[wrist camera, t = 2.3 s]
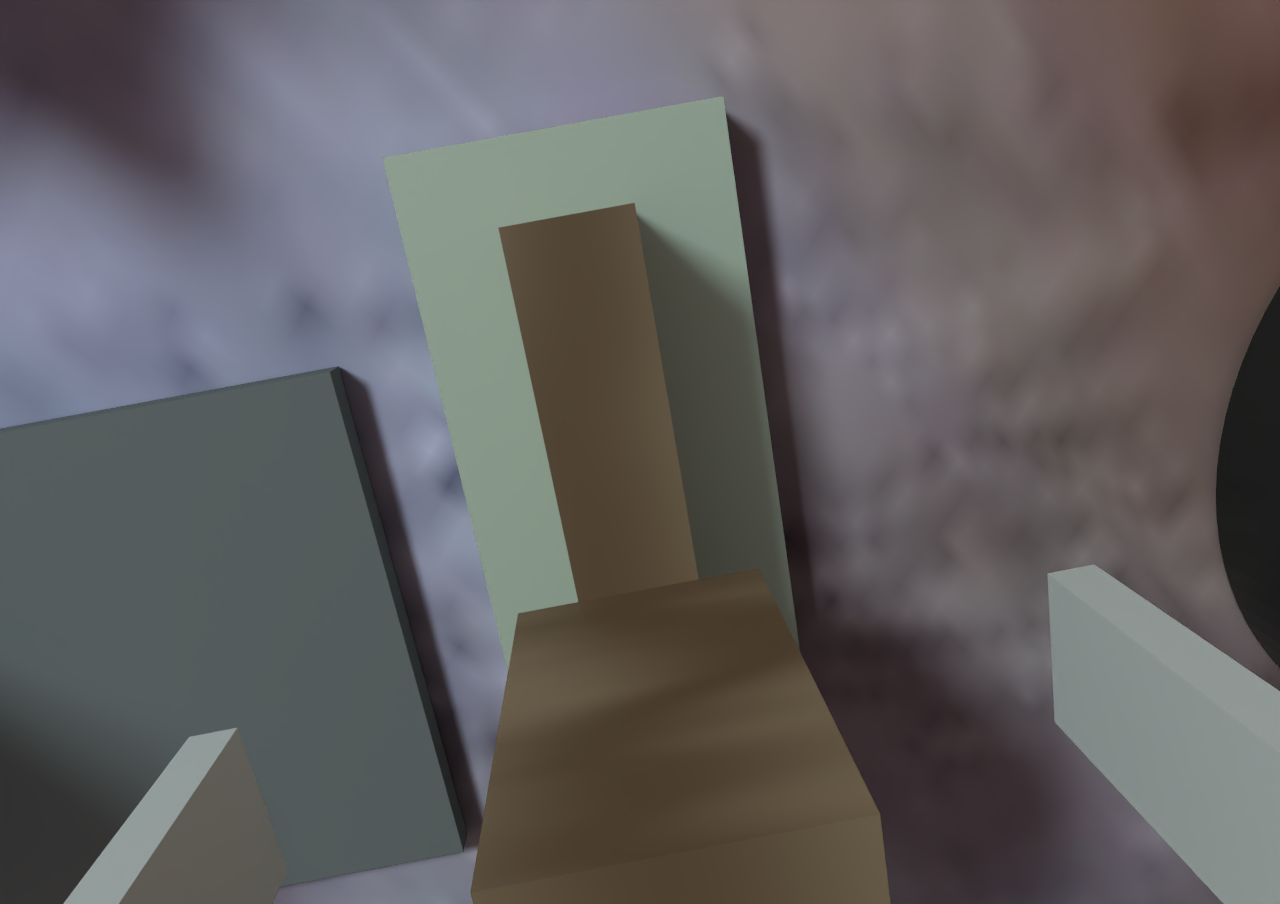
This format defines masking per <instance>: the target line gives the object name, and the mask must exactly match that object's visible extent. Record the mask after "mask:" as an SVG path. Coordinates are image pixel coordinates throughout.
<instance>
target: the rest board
mask: <svg viewBox="0 0 1280 904" xmlns="http://www.w3.org/2000/svg"><path fill="white" fill-rule="evenodd" d="M382 159H383V163H384V167H385V171H386V175H387V179H388V183H389V187H390V191H391V195H392V199H393V204H394V208H395V212H396V216H397V220H398V224H399V228H400V232H401V236H402V240H403V244H404V248H405V253H406V257H407V261H408V265H409V269H410V273H411V277H412V281H413V285H414V289H415V293H416V298H417V302H418V306H419V310H420V314H421V318H422V322H423V326H424V330H425V334H426V338H427V342H428V347H429V351H430V355H431V359H432V363H433V367H434V371H435V375H436V379H437V383H438V387H439V392H440V396H441V400H442V404H443V408H444V412H445V416H446V420H447V424H448V428H449V432H450V436H451V441H452V445H453V449H454V453H455V457H456V461H457V465H458V469H459V473H460V477H461V481H462V485H463V490H464V494H465V498H466V502H467V506H468V510H469V514H470V518H471V522H472V526H473V530H474V535H475V539H476V543H477V547H478V551H479V555H480V559H481V563H482V567H483V571H484V575H485V579H486V584H487V588H488V592H489V596H490V600H491V604H492V608H493V612H494V616H495V620H496V624H497V628H498V633H499V637H500V641H501V645H502V649H503V653H504V657H505V661H506V665H507V669H509V663H510V657H511V652H512V646H513V640H514V634H515V628H516V622H517V616H518V613H523V612H528V611H533V610H539V609H544V608H549V607H555V606H560V605H565V604H570V603H576V602H578V598H577V593H576V589H575V584H574V579H573V575H572V570H571V565H570V561H569V556H568V551H567V547H566V542H565V537H564V533H563V528H562V523H561V519H560V514H559V509H558V505H557V500H556V495H555V491H554V486H553V481H552V476H551V472H550V467H549V462H548V458H547V453H546V448H545V444H544V439H543V434H542V430H541V425H540V420H539V416H538V411H537V406H536V402H535V397H534V392H533V388H532V383H531V378H530V374H529V369H528V364H527V360H526V355H525V350H524V346H523V341H522V336H521V332H520V327H519V322H518V318H517V313H516V308H515V304H514V299H513V294H512V290H511V285H510V280H509V276H508V271H507V266H506V262H505V257H504V252H503V248H502V243H501V238H500V234H499V229H498V228H499V227H505V226H510V225H516V224H521V223H526V222H532V221H537V220H543V219H548V218H554V217H559V216H565V215H570V214H576V213H581V212H587V211H592V210H598V209H603V208H609V207H614V206H620V205H625V204H630V203H635V208H636V214H637V220H638V225H639V231H640V237H641V243H642V249H643V255H644V261H645V267H646V272H647V278H648V284H649V290H650V296H651V302H652V308H653V313H654V319H655V325H656V331H657V337H658V343H659V349H660V355H661V360H662V366H663V372H664V378H665V384H666V390H667V396H668V402H669V407H670V413H671V419H672V425H673V431H674V437H675V443H676V449H677V454H678V460H679V466H680V472H681V478H682V484H683V490H684V495H685V501H686V507H687V513H688V519H689V525H690V531H691V537H692V542H693V548H694V554H695V560H696V566H697V572H698V578H699V579H703V578H709V577H714V576H719V575H725V574H730V573H735V572H740V571H746V570H751V569H756V568H759V569H760V571H761V573H762V575H763V577H764V580H765V582H766V584H767V586H768V588H769V590H770V592H771V594H772V596H773V598H774V600H775V602H776V604H777V606H778V608H779V610H780V612H781V614H782V616H783V618H784V620H785V622H786V624H787V626H788V628H789V630H790V632H791V634H792V636H793V638H794V640H795V642H796V644H797V646H798V648H799V651H800V647H799V640H798V632H797V625H796V618H795V611H794V603H793V596H792V589H791V582H790V575H789V567H788V560H787V553H786V546H785V538H784V531H783V524H782V517H781V510H780V502H779V495H778V488H777V481H776V473H775V466H774V459H773V452H772V445H771V437H770V430H769V423H768V416H767V408H766V401H765V394H764V387H763V380H762V372H761V365H760V358H759V351H758V343H757V336H756V329H755V322H754V315H753V307H752V300H751V293H750V286H749V278H748V271H747V264H746V257H745V250H744V242H743V235H742V228H741V221H740V213H739V206H738V199H737V192H736V185H735V177H734V170H733V163H732V156H731V149H730V141H729V134H728V127H727V120H726V112H725V105H724V98H723V96H721V97H716V98H710V99H705V100H699V101H694V102H688V103H683V104H677V105H672V106H666V107H661V108H655V109H650V110H644V111H638V112H633V113H627V114H622V115H616V116H611V117H605V118H600V119H594V120H589V121H583V122H578V123H572V124H567V125H561V126H556V127H550V128H545V129H539V130H534V131H528V132H523V133H517V134H512V135H506V136H501V137H495V138H490V139H484V140H479V141H473V142H468V143H462V144H457V145H451V146H445V147H440V148H434V149H429V150H423V151H418V152H412V153H407V154H401V155H396V156H390V157H385V158H382Z"/></svg>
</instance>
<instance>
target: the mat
mask: <svg viewBox="0 0 1280 904" xmlns="http://www.w3.org/2000/svg"><path fill="white" fill-rule="evenodd" d="M233 728H238V731H239V734H240V736H241V739H242V742H243V745H244V748H245V751H246V754H247V756H248V759H249V762H250V765H251V768H252V771H253V774H254V776H255V779H256V782H257V785H258V788H259V791H260V794H261V796H262V799H263V802H264V805H265V808H266V811H267V813H268V816H269V819H270V822H271V825H272V828H273V831H274V833H275V836H276V839H277V842H278V845H279V848H280V851H281V853H282V856H283V859H284V862H285V865H286V868H287V872H286V874H285V876H284V879H283V881H282V883H281V885H280V887H282V886H287V885H292V884H298V883H303V882H308V881H313V880H319V879H324V878H329V877H334V876H339V875H345V874H350V873H355V872H360V871H366V870H371V869H376V868H381V867H386V866H392V865H397V864H402V863H407V862H413V861H418V860H423V859H428V858H433V857H439V856H444V855H449V854H454V853H460V852H464V846H465V841H466V836H467V831H466V827H465V824H464V820H463V817H462V813H461V809H460V806H459V802H458V798H457V795H456V791H455V788H454V784H453V780H452V777H451V773H450V769H449V766H448V762H447V759H446V755H445V751H444V748H443V744H442V740H441V737H440V733H439V729H438V726H437V722H436V719H435V715H434V711H433V708H432V704H431V700H430V697H429V693H428V690H427V686H426V682H425V679H424V675H423V671H422V668H421V664H420V661H419V657H418V653H417V650H416V646H415V642H414V639H413V635H412V632H411V628H410V624H409V621H408V617H407V613H406V610H405V606H404V602H403V599H402V595H401V592H400V588H399V584H398V581H397V577H396V573H395V570H394V566H393V563H392V559H391V555H390V552H389V548H388V544H387V541H386V537H385V534H384V530H383V526H382V523H381V519H380V515H379V512H378V508H377V504H376V501H375V497H374V494H373V490H372V486H371V483H370V479H369V475H368V472H367V468H366V465H365V461H364V457H363V454H362V450H361V446H360V443H359V439H358V436H357V432H356V428H355V425H354V421H353V417H352V414H351V410H350V407H349V403H348V399H347V396H346V392H345V388H344V385H343V381H342V377H341V374H340V370H339V367H333V368H328V369H322V370H317V371H311V372H306V373H301V374H295V375H290V376H284V377H279V378H273V379H268V380H263V381H257V382H252V383H246V384H241V385H235V386H230V387H225V388H219V389H214V390H208V391H203V392H197V393H192V394H187V395H181V396H176V397H170V398H165V399H159V400H154V401H149V402H143V403H138V404H132V405H127V406H121V407H116V408H111V409H105V410H100V411H94V412H89V413H83V414H78V415H73V416H67V417H62V418H56V419H51V420H45V421H40V422H35V423H29V424H24V425H18V426H13V427H7V428H2V429H0V904H63V903H64V902H65V901H66V900H67V898H68V897H69V896H70V894H71V893H72V892H73V890H74V889H75V888H76V886H77V885H78V884H79V882H80V881H81V880H82V878H83V877H84V876H85V874H86V873H87V872H88V870H89V869H90V868H91V866H92V865H93V864H94V862H95V861H96V860H97V858H98V857H99V856H100V854H101V853H102V852H103V850H104V849H105V848H106V846H107V845H108V844H109V843H110V841H111V840H112V839H113V837H114V836H115V835H116V833H117V832H118V831H119V829H120V828H121V827H122V825H123V824H124V823H125V821H126V820H127V819H128V817H129V816H130V815H131V813H132V812H133V811H134V809H135V808H136V807H137V805H138V804H139V803H140V801H141V800H142V799H143V797H144V796H145V795H146V793H147V792H148V791H149V789H150V788H151V787H152V786H153V784H154V783H155V782H156V780H157V779H158V778H159V776H160V775H161V774H162V772H163V771H164V770H165V768H166V767H167V766H168V764H169V763H170V762H171V760H172V759H173V758H174V756H175V755H176V754H177V752H178V751H179V750H180V748H181V747H182V746H183V744H184V743H185V742H186V740H187V739H188V738H189V737H191V736H196V735H202V734H207V733H212V732H217V731H223V730H228V729H233Z"/></svg>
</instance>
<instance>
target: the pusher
mask: <svg viewBox="0 0 1280 904" xmlns="http://www.w3.org/2000/svg"><path fill="white" fill-rule="evenodd" d="M498 229H499V234H500V238H501V243H502V248H503V252H504V257H505V262H506V266H507V271H508V276H509V280H510V285H511V290H512V294H513V299H514V304H515V308H516V313H517V318H518V322H519V327H520V332H521V336H522V341H523V346H524V350H525V355H526V360H527V364H528V369H529V374H530V378H531V383H532V388H533V392H534V397H535V402H536V406H537V411H538V416H539V420H540V425H541V430H542V434H543V439H544V444H545V448H546V453H547V458H548V462H549V467H550V472H551V476H552V481H553V486H554V491H555V495H556V500H557V505H558V509H559V514H560V519H561V523H562V528H563V533H564V537H565V542H566V547H567V551H568V556H569V561H570V565H571V570H572V575H573V579H574V584H575V589H576V593H577V598H578V602H576V603H570V604H565V605H560V606H555V607H549V608H544V609H539V610H533V611H528V612H523V613H518V616H517V622H516V628H515V634H514V640H513V646H512V652H511V657H510V663H509V669H508V675H507V681H506V687H505V693H504V699H503V704H502V710H501V716H500V722H499V728H498V734H497V740H496V746H495V751H494V757H493V763H492V769H491V775H490V781H489V787H488V793H487V798H486V804H485V810H484V816H483V822H482V828H481V834H480V840H479V845H478V851H477V857H476V863H475V869H474V875H473V881H472V887H471V897H472V900H473V904H891V903H890V894H889V886H888V877H887V868H886V860H885V851H884V843H883V834H882V826H881V817H880V813H879V811H878V809H877V807H876V805H875V803H874V801H873V799H872V797H871V795H870V793H869V791H868V788H867V786H866V784H865V782H864V780H863V778H862V776H861V774H860V772H859V770H858V768H857V766H856V764H855V762H854V760H853V758H852V756H851V754H850V752H849V750H848V748H847V746H846V744H845V742H844V740H843V738H842V736H841V734H840V732H839V730H838V728H837V726H836V724H835V722H834V720H833V717H832V715H831V713H830V711H829V709H828V707H827V705H826V703H825V701H824V699H823V697H822V695H821V693H820V691H819V689H818V687H817V685H816V683H815V681H814V679H813V677H812V675H811V673H810V671H809V669H808V667H807V665H806V663H805V661H804V659H803V657H802V655H801V653H800V651H799V648H798V646H797V644H796V642H795V640H794V638H793V636H792V634H791V632H790V630H789V628H788V626H787V624H786V622H785V620H784V618H783V616H782V614H781V612H780V610H779V608H778V606H777V604H776V602H775V600H774V598H773V596H772V594H771V592H770V590H769V588H768V586H767V584H766V582H765V580H764V577H763V575H762V573H761V571H760V569H759V568H756V569H751V570H746V571H740V572H735V573H730V574H725V575H719V576H714V577H709V578H703V579H699V578H698V572H697V566H696V560H695V554H694V548H693V542H692V537H691V531H690V525H689V519H688V513H687V507H686V501H685V495H684V490H683V484H682V478H681V472H680V466H679V460H678V454H677V449H676V443H675V437H674V431H673V425H672V419H671V413H670V407H669V402H668V396H667V390H666V384H665V378H664V372H663V366H662V360H661V355H660V349H659V343H658V337H657V331H656V325H655V319H654V313H653V308H652V302H651V296H650V290H649V284H648V278H647V272H646V267H645V261H644V255H643V249H642V243H641V237H640V231H639V225H638V220H637V214H636V208H635V203H630V204H625V205H620V206H614V207H609V208H603V209H598V210H592V211H587V212H581V213H576V214H570V215H565V216H559V217H554V218H548V219H543V220H537V221H532V222H526V223H521V224H516V225H510V226H505V227H499V228H498Z"/></svg>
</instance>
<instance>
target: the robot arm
mask: <svg viewBox="0 0 1280 904" xmlns="http://www.w3.org/2000/svg"><path fill="white" fill-rule="evenodd" d="M1216 505H1217V523H1218V532H1219V541H1220V546H1221V551H1222V556H1223V561H1224V565H1225V568H1226V572H1227V575H1228V579H1229V582H1230V585H1231V588H1232V590H1233V593H1234V596H1235V598H1236V601H1237V603H1238V605H1239V607H1240V609H1241V611H1242V613H1243V615H1244V617H1245V619H1246V621H1247V623H1248V625H1249V627H1250V628H1251V630H1252V631H1253V633H1254V635H1255V636H1256V638H1257V639H1258V641H1259V642H1260V644H1261V645H1262V646H1263V647H1264V649H1265V650H1266V651H1267V653H1268V654H1269V655H1270V657H1271V658H1272V659H1273V660H1274V661H1275V662H1276V663H1277V664H1278V665H1279V666H1280V287H1279V289H1278V290H1277V292H1276V294H1275V296H1274V297H1273V299H1272V301H1271V303H1270V304H1269V306H1268V308H1267V310H1266V312H1265V314H1264V316H1263V318H1262V320H1261V322H1260V324H1259V326H1258V328H1257V330H1256V332H1255V334H1254V336H1253V338H1252V340H1251V343H1250V345H1249V348H1248V350H1247V352H1246V355H1245V357H1244V359H1243V362H1242V365H1241V367H1240V370H1239V373H1238V376H1237V379H1236V382H1235V385H1234V388H1233V391H1232V395H1231V398H1230V402H1229V406H1228V409H1227V413H1226V417H1225V422H1224V427H1223V432H1222V437H1221V442H1220V450H1219V459H1218V467H1217V485H1216ZM1048 592H1049V613H1050V635H1051V656H1052V677H1053V698H1054V719H1055V723H1056V724H1057V725H1058V726H1059V727H1060V728H1061V729H1062V731H1063V732H1064V733H1065V734H1066V735H1067V736H1068V737H1069V738H1070V739H1071V740H1072V741H1073V742H1074V743H1075V744H1076V746H1077V747H1078V748H1079V749H1080V750H1081V751H1082V752H1083V753H1084V754H1085V755H1086V756H1087V757H1088V758H1089V760H1090V761H1091V762H1092V763H1093V764H1094V765H1095V766H1096V767H1097V768H1098V769H1099V770H1100V771H1101V772H1102V774H1103V775H1104V776H1105V777H1106V778H1107V779H1108V780H1109V781H1110V782H1111V783H1112V784H1113V785H1114V786H1115V787H1116V789H1117V790H1118V791H1119V792H1120V793H1121V794H1122V795H1123V796H1124V797H1125V798H1126V799H1127V800H1128V801H1129V803H1130V804H1131V805H1132V806H1133V807H1134V808H1135V809H1136V810H1137V811H1138V812H1139V813H1140V814H1141V815H1142V817H1143V818H1144V819H1145V820H1146V821H1147V822H1148V823H1149V824H1150V825H1151V826H1152V827H1153V828H1154V829H1155V831H1156V832H1157V833H1158V834H1159V835H1160V836H1161V837H1162V838H1163V839H1164V840H1165V841H1166V842H1167V843H1168V844H1169V846H1170V847H1171V848H1172V849H1173V850H1174V851H1175V852H1176V853H1177V854H1178V855H1179V856H1180V857H1181V858H1182V860H1183V861H1184V862H1185V863H1186V864H1187V865H1188V866H1189V867H1190V868H1191V869H1192V870H1193V871H1194V872H1195V874H1196V875H1197V876H1198V877H1199V878H1200V879H1201V880H1202V881H1203V882H1204V883H1205V884H1206V885H1207V886H1208V887H1209V889H1210V890H1211V891H1212V892H1213V893H1214V894H1215V895H1216V896H1217V897H1218V898H1219V899H1220V900H1221V901H1222V903H1223V904H1280V691H1279V690H1277V689H1276V688H1274V687H1273V686H1271V685H1270V684H1268V683H1267V682H1265V681H1264V680H1262V679H1261V678H1260V677H1258V676H1257V675H1255V674H1254V673H1252V672H1251V671H1249V670H1248V669H1246V668H1245V667H1243V666H1242V665H1241V664H1239V663H1238V662H1236V661H1235V660H1233V659H1232V658H1230V657H1229V656H1227V655H1226V654H1224V653H1223V652H1222V651H1220V650H1219V649H1217V648H1216V647H1214V646H1213V645H1211V644H1210V643H1208V642H1207V641H1205V640H1204V639H1203V638H1201V637H1200V636H1198V635H1197V634H1195V633H1194V632H1192V631H1191V630H1189V629H1188V628H1186V627H1185V626H1184V625H1182V624H1181V623H1179V622H1178V621H1176V620H1175V619H1173V618H1172V617H1170V616H1169V615H1167V614H1166V613H1164V612H1163V611H1162V610H1160V609H1159V608H1157V607H1156V606H1154V605H1153V604H1151V603H1150V602H1148V601H1147V600H1145V599H1144V598H1143V597H1141V596H1140V595H1138V594H1137V593H1135V592H1134V591H1132V590H1131V589H1129V588H1128V587H1126V586H1125V585H1124V584H1122V583H1121V582H1119V581H1118V580H1116V579H1115V578H1113V577H1112V576H1110V575H1109V574H1107V573H1106V572H1105V571H1103V570H1102V569H1100V568H1099V567H1097V566H1096V565H1090V566H1084V567H1079V568H1074V569H1069V570H1063V571H1058V572H1053V573H1048ZM286 872H287V868H286V865H285V862H284V859H283V856H282V853H281V851H280V848H279V845H278V842H277V839H276V836H275V833H274V831H273V828H272V825H271V822H270V819H269V816H268V813H267V811H266V808H265V805H264V802H263V799H262V796H261V794H260V791H259V788H258V785H257V782H256V779H255V776H254V774H253V771H252V768H251V765H250V762H249V759H248V756H247V754H246V751H245V748H244V745H243V742H242V739H241V736H240V734H239V731H238V728H233V729H228V730H223V731H217V732H212V733H207V734H202V735H196V736H191V737H189V738H188V739H187V740H186V742H185V743H184V744H183V746H182V747H181V748H180V750H179V751H178V752H177V754H176V755H175V756H174V758H173V759H172V760H171V762H170V763H169V764H168V766H167V767H166V768H165V770H164V771H163V772H162V774H161V775H160V776H159V778H158V779H157V780H156V782H155V783H154V784H153V786H152V787H151V788H150V789H149V791H148V792H147V793H146V795H145V796H144V797H143V799H142V800H141V801H140V803H139V804H138V805H137V807H136V808H135V809H134V811H133V812H132V813H131V815H130V816H129V817H128V819H127V820H126V821H125V823H124V824H123V825H122V827H121V828H120V829H119V831H118V832H117V833H116V835H115V836H114V837H113V839H112V840H111V841H110V843H109V844H108V845H107V846H106V848H105V849H104V850H103V852H102V853H101V854H100V856H99V857H98V858H97V860H96V861H95V862H94V864H93V865H92V866H91V868H90V869H89V870H88V872H87V873H86V874H85V876H84V877H83V878H82V880H81V881H80V882H79V884H78V885H77V886H76V888H75V889H74V890H73V892H72V893H71V894H70V896H69V897H68V898H67V900H66V901H65V902H64V903H63V904H272V903H273V901H274V899H275V896H276V894H277V892H278V890H279V887H280V885H281V883H282V881H283V879H284V876H285V874H286Z"/></svg>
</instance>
